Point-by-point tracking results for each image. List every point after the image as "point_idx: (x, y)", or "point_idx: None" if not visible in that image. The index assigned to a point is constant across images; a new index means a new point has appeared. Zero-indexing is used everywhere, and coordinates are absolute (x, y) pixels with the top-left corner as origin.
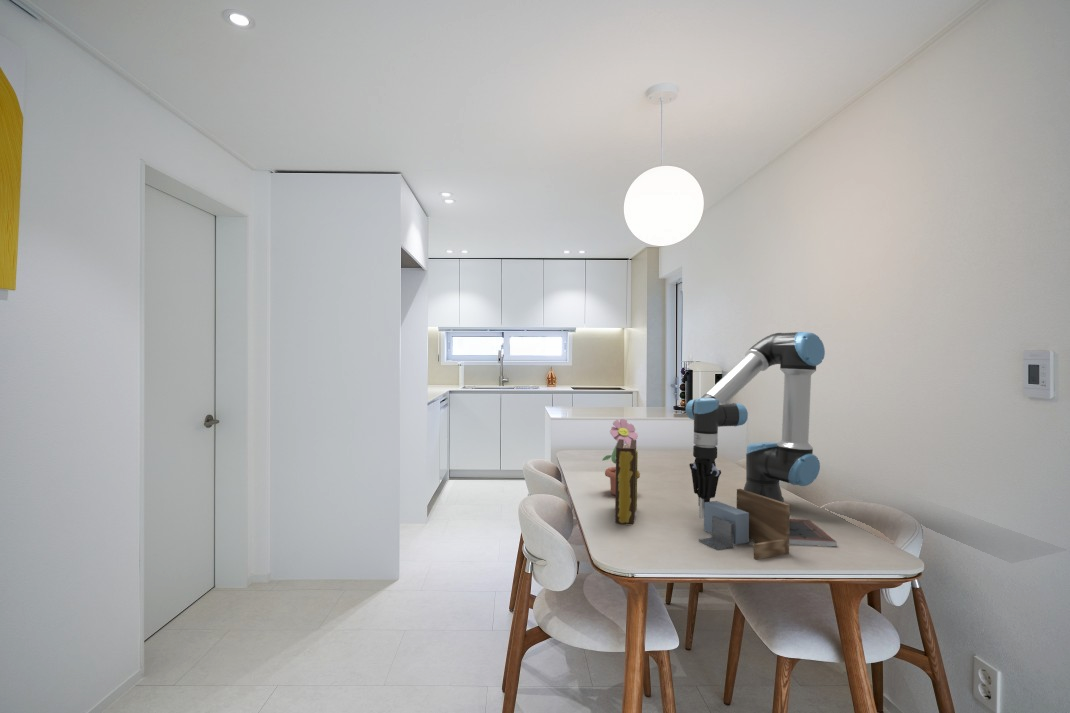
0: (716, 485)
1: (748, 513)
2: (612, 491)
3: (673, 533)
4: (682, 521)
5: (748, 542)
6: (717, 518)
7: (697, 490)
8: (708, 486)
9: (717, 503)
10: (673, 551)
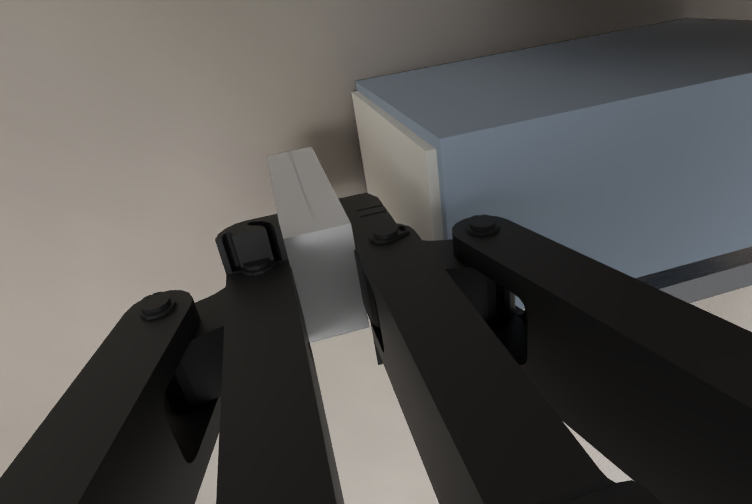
0: (701, 328)
1: None
2: None
3: (385, 404)
4: (130, 274)
5: (686, 18)
6: (701, 298)
7: (213, 396)
8: (587, 436)
9: (547, 196)
10: (596, 457)
